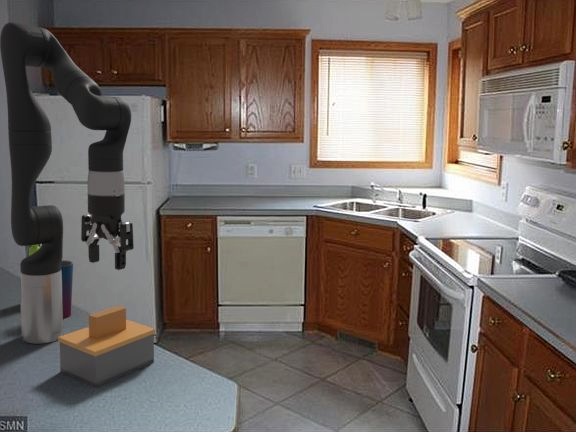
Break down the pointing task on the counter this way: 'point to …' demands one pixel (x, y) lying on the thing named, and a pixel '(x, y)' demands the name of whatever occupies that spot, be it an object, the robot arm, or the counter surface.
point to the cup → (66, 287)
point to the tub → (106, 361)
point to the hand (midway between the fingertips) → (107, 265)
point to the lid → (106, 332)
